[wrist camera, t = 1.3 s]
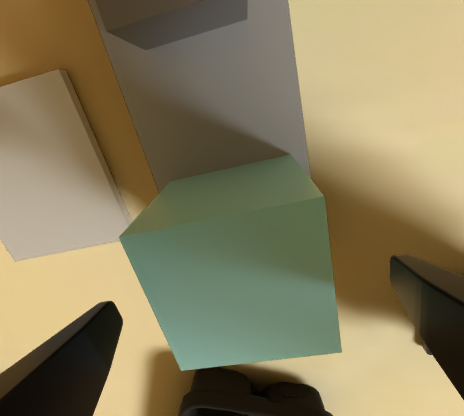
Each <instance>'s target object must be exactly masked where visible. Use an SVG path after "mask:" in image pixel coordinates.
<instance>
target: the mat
mask: <svg viewBox="0 0 464 416" xmlns="http://www.w3.org/2000/svg"><path fill="white" fill-rule="evenodd" d="M131 223H132V221H131V219H130V217H129V214H128V212H127V210H126V207H125V205H124V203H123V200H122V198H121V196H120V194H119V191H118V189H117V187H116V184H115V182H114V180H113V177H112V175H111V173H110V170H109V168H108V166H107V163H106V161H105V159H104V157H103V154H102V152H101V150H100V147H99V145H98V143H97V140H96V138H95V136H94V133H93V131H92V129H91V127H90V124H89V122H88V120H87V117H86V115H85V113H84V110H83V108H82V106H81V103H80V101H79V99H78V96H77V94H76V92H75V90H74V87H73V85H72V83H71V80H70V78H69V76H68V73H67V71H66V70H63V69H56V70H53V71H50V72H46V73H43V74H40V75H37V76H33V77H30V78H27V79H24V80H21V81H17V82H14V83H11V84H8V85H4V86H1V87H0V240H1V242H2V243H3V245H4V246H5V248H6V249H7V251H8V252H9V254H10V255H11V257H12V258H13V260H14V261H15V262H16V261H21V260H26V259H31V258H36V257H41V256H46V255H51V254H57V253H62V252H67V251H72V250H77V249H82V248H87V247H92V246H97V245H102V244H107V243H112V242H118V241H120V239H119V236H120V235H121V234H122V233H123V232H124V231H125V230H126V229H127V228H128V227H129V225H130V224H131Z"/></svg>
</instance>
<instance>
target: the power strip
mask: <svg viewBox="0 0 464 416" xmlns="http://www.w3.org/2000/svg"><path fill="white" fill-rule="evenodd" d="M88 2H89V5H90V8H91V11H92V13H93V16H94V19H95V21H96V24H97V27H98V29H99V32H100V35H101V38H102V40H103V43H104V46H105V48H106V51H107V54H108V56H109V59H110V62H111V65H112V67H113V70H114V73H115V75H116V78H117V81H118V83H119V86H120V89H121V92H122V94H123V97H124V100H125V102H126V105H127V108H128V110H129V113H130V116H131V119H132V121H133V124H134V127H135V129H136V132H137V135H138V137H139V140H140V143H141V146H142V148H143V151H144V154H145V156H146V159H147V162H148V164H149V167H150V170H151V173H152V175H153V178H154V181H155V183H156V186H157V189H158V191H159V193H160V192H161V191H162V190H163V189H164V187H165V186H166V185H167V184H168V183H169V182H170V181H174V180H179V179H183V178H188V177H192V176H197V175H201V174H205V173H210V172H214V171H219V170H223V169H228V168H232V167H237V166H241V165H245V164H250V163H254V162H259V161H263V160H268V159H272V158H276V157H281V156H285V155H290V154H291V155H292V156H293V157H294V159H295V160H296V161H297V162H298V164H299V165H300V166H301V167H302V169H303V170H304V171H305V172H306V174H307V175H308V176H309V177H310V179H311V176H310V168H309V160H308V152H307V145H306V137H305V129H304V121H303V113H302V106H301V98H300V90H299V82H298V74H297V67H296V59H295V51H294V43H293V36H292V28H291V20H290V12H289V4H288V0H88Z"/></svg>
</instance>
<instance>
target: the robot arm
mask: <svg viewBox="0 0 464 416" xmlns="http://www.w3.org/2000/svg"><path fill="white" fill-rule="evenodd" d="M390 281H391V284H392V286H393V288H394V290H395V292H396V294H397V296H398V298H399V299H400V301H401V303H402V305H403V307H404V308H405V310H406V312H407V314H408V316H409V318H410V319H411V321H412V323H413V325H414V327H415V329H416V330H417V332H418V334H419V335H420V337H421V338H422V340H423V349H424V350H425V351H426V353H427V354H429V355H433V356H434V358H435V359H436V361H437V362H438V363H439V365H440V366H441V368H442V369H443V371H444V372H445V374H446V375H447V377H448V378H449V379H450V381H451V382H452V384H453V385H454V387H455V388H456V390H457V391H458V392H459V394H460V395H461V397H462V398H463V400H464V276H463V275H460V274H457V273H455V272H452V271H450V270H447V269H445V268H442V267H440V266H437V265H434V264H432V263H429V262H427V261H424V260H422V259H419V258H417V257H414V256H411V255H409V254H400V255H393V256H392V257H391V258H390ZM122 326H123V319H122V317H121V315H120V313H119V311H118V309H117V307H116V305H115V304H114V302H112V301H106V302H100V303H98V304H97V305H96V306H94V307H93V308H91V309H90V310H89V311H87V312H86V313H84V314H83V315H82V316H80V317H79V318H77V319H76V320H75V321H73V322H72V323H71V324H69V325H68V326H66V327H65V328H64V329H62V330H61V331H59V332H58V333H57V334H55V335H54V336H52V337H51V338H50V339H48V340H47V341H46V342H44V343H43V344H41V345H40V346H39V347H37V348H36V349H34V350H33V351H32V352H30V353H29V354H27V355H26V356H25V357H23V358H22V359H21V360H19V361H18V362H16V363H15V364H14V365H12V366H11V367H9V368H8V369H7V370H5V371H4V372H2V373H1V374H0V416H93V414H94V411H95V408H96V406H97V403H98V400H99V398H100V395H101V393H102V390H103V387H104V385H105V382H106V379H107V377H108V374H109V371H110V368H111V364H112V361H113V358H114V354H115V351H116V347H117V344H118V340H119V336H120V333H121V329H122Z"/></svg>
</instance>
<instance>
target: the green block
mask: <svg viewBox="0 0 464 416" xmlns="http://www.w3.org/2000/svg"><path fill="white" fill-rule="evenodd" d="M119 239H120V241H121V243H122V245H123V248H124V250H125V252H126V254H127V256H128V258H129V260H130V263H131V265H132V267H133V269H134V271H135V273H136V275H137V278H138V280H139V282H140V284H141V286H142V288H143V290H144V293H145V295H146V297H147V299H148V301H149V303H150V305H151V308H152V310H153V312H154V314H155V316H156V318H157V320H158V323H159V325H160V327H161V329H162V331H163V333H164V335H165V338H166V340H167V342H168V344H169V346H170V348H171V350H172V353H173V355H174V357H175V359H176V361H177V363H178V365H179V368H180V370H181V371H184V370H193V369H202V368H210V367H219V366H228V365H236V364H245V363H254V362H262V361H271V360H280V359H288V358H297V357H306V356H314V355H323V354H332V353H340V352H342V349H341V340H340V331H339V322H338V313H337V304H336V295H335V286H334V277H333V268H332V258H331V249H330V240H329V231H328V222H327V213H326V204H325V196H324V195H323V194H322V192H321V191H320V190H319V189H318V187H317V186H316V185H315V184H314V182H313V181H312V180H311V179H310V177H309V176H308V175H307V174H306V172H305V171H304V170H303V169H302V167H301V166H300V165H299V164H298V162H297V161H296V160H295V159H294V157H293V156H292V155H291V154H290V155H285V156H281V157H276V158H272V159H268V160H263V161H259V162H254V163H250V164H245V165H241V166H237V167H232V168H228V169H223V170H219V171H214V172H210V173H205V174H201V175H197V176H192V177H188V178H183V179H179V180H174V181H170V182H169V183H168V184H167V185H166V186H165V187H164V189H163V190H162V191H161V192H160V193H159V194H158V195H157V196H156V197H155V198H154V199H153V200H152V202H151V203H150V204H149V205H148V206H147V207H146V208H145V209H144V210H143V211H142V212H141V214H140V215H139V216H138V217H137V218H136V219H135V220H134V221H133V222H132V223H131V224H130V225H129V227H128V228H127V229H126V230H125V231H124V232H123V233H122V234H121V235H120V236H119Z"/></svg>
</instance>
